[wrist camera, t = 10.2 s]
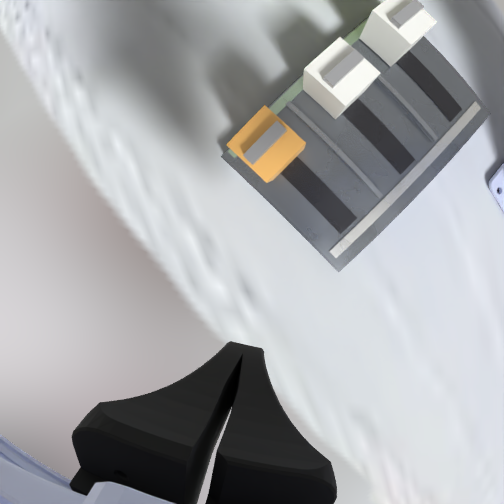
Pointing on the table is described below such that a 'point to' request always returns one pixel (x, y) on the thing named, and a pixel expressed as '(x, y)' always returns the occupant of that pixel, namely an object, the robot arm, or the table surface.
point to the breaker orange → (266, 144)
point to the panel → (368, 149)
